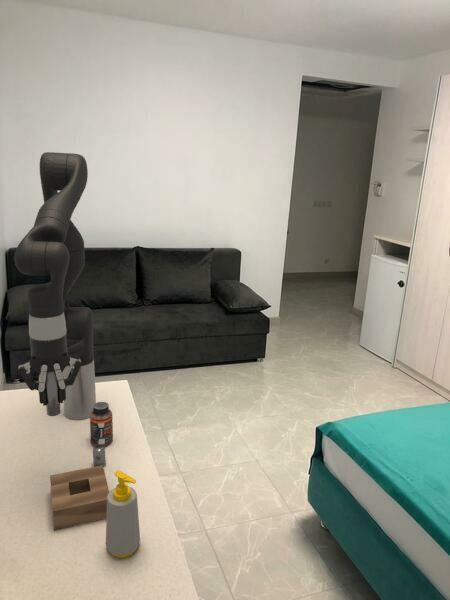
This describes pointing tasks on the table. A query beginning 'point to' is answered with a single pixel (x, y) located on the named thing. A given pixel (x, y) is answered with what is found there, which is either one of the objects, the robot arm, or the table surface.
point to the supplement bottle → (101, 424)
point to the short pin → (99, 455)
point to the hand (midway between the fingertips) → (52, 402)
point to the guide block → (79, 497)
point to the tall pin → (52, 394)
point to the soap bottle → (122, 518)
